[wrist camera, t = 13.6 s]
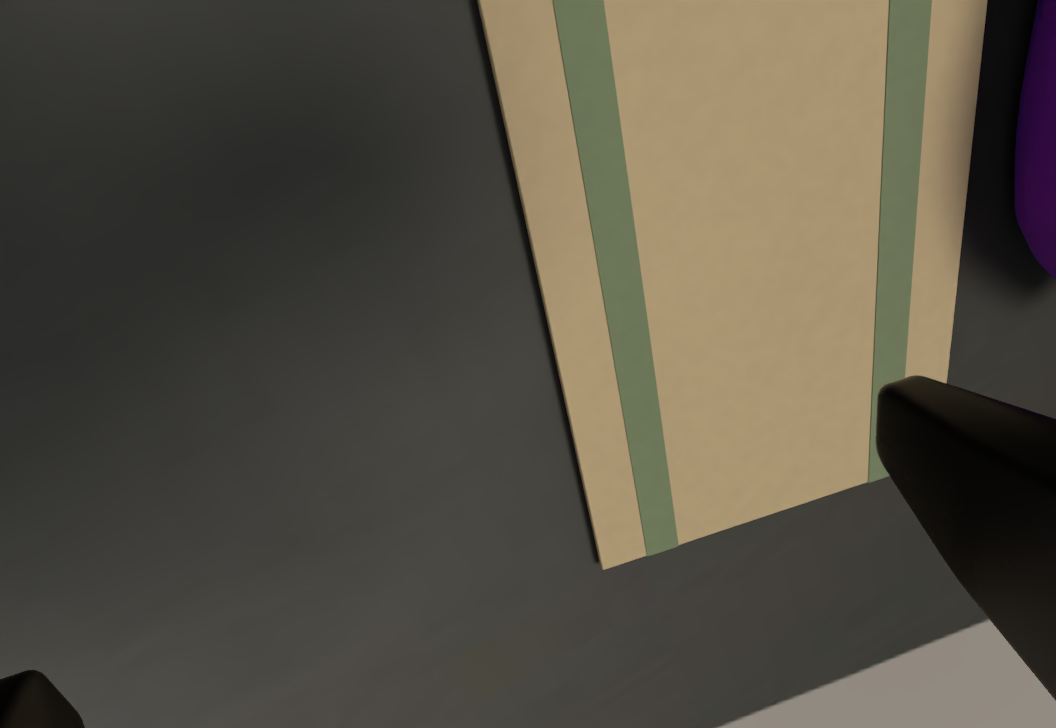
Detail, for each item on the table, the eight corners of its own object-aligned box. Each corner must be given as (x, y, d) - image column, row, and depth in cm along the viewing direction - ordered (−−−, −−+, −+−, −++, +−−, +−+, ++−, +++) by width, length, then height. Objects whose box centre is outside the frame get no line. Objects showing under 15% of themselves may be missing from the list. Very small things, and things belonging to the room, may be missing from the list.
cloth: (423, -242, 14) (427, -244, 14) (1017, -382, 15) (1031, -386, 15) (599, 563, 25) (603, 571, 25) (932, 452, 26) (939, 459, 26)
